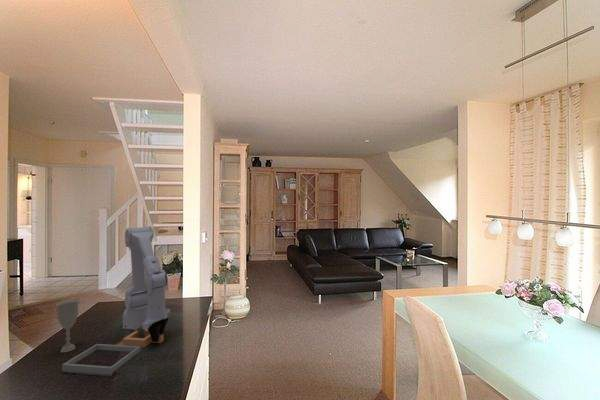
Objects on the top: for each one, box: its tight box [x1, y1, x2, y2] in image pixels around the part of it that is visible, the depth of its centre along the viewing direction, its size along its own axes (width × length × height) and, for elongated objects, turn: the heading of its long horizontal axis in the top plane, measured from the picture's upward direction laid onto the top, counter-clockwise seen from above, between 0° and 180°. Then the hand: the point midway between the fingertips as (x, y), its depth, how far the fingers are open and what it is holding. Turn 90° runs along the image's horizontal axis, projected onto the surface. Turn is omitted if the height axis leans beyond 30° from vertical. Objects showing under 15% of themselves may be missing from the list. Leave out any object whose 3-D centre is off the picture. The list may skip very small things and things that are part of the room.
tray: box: [61, 343, 142, 378], centre depth 99 cm, size 18×14×3 cm
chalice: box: [55, 299, 80, 353], centre depth 106 cm, size 7×7×18 cm
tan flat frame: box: [122, 329, 165, 348], centre depth 112 cm, size 13×9×2 cm
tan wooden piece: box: [115, 326, 145, 349], centre depth 112 cm, size 12×10×6 cm
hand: (157, 339), depth 111 cm, fingers closed on tan flat frame, 2 cm apart
